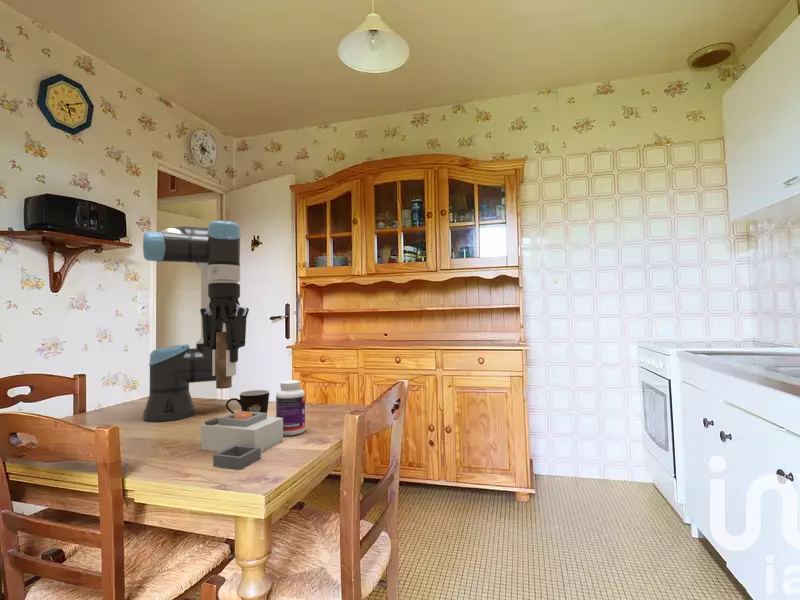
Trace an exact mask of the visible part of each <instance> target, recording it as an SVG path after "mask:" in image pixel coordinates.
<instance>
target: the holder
mask: <svg viewBox="0 0 800 600" xmlns="http://www.w3.org/2000/svg"><path fill="white" fill-rule="evenodd" d="M260 459H261V452H260V448H259V447H249V446H239V445H234V446H232V447H230V448H227V449H225V450H223V451H221V452H219V451H218V452H217V453H215V454H213V455H212V464H213V465H212V466H213V467H216V468H224V469H231V470H238V471H239V470H242V469H243V468H246V467H247V466H249V465H251V464H253V463H255V462H256V461H258V460H260Z"/></svg>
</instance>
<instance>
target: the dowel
mask: <svg viewBox="0 0 800 600" xmlns="http://www.w3.org/2000/svg"><path fill="white" fill-rule="evenodd" d="M227 348H229V346H228V339H227V332H216V381H215V385H216V386H215V388H216V389H219V390H222V389H223V390H224V389H230V388H232V385H233V384H232V381H233V380H232V379H233V376H226V350H227Z"/></svg>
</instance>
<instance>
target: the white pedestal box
mask: <svg viewBox="0 0 800 600" xmlns="http://www.w3.org/2000/svg"><path fill="white" fill-rule="evenodd" d="M239 412H247V411H242V410H238V411H236V412H235V413H233V414H232V413H230V414H227V415H226V416H221V417H215V418H212V419H209V420H205V421H204V424H201V425H200V450H201V449H202V450H201V451H211V452H219V451H223V450H225V449H227V448H230V447H232V446H234V445H239V446H249V447H259V448H260V453H262V452H263V450H264V451H266V450H268V449H270V448H272V447H273V446H275V445H277V444H279V443H281V442H283V441H284V435H283V418H278V417H275V416H268V412H267V413H261V412H252V417H250V418H247V419H237V418H234V414H236V413H239ZM271 446H272V447H271ZM269 447H270V448H269ZM267 448H268V449H267ZM265 449H266V450H265Z"/></svg>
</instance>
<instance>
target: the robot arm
mask: <svg viewBox="0 0 800 600" xmlns="http://www.w3.org/2000/svg"><path fill="white" fill-rule="evenodd" d="M240 229H241V228H240V225H239V224H238V223H236V222H234V221H229V220H228V221H227V220H212V221H211V222H209V223H208V227H199V226H198V227H197V226H184V225H183V226H176V227H169V228H165V229H162V230H161V231H147V232H145V233H144V234H143V240H142V252H143V253H142V254H143V258H144V260H145V261H149V262H150V261H151V262H156V263H157V262H158V263H163V262H166V263H167V262H168V263H195V266H196V267H197V268H198V269H200V295H201V296H200V306H201V307H200V310H199V311H200V339H199V340H198V341H196V344H195V345H196V346H195V348H190V345H189V344H178V345H171V346H165V347H161V348H157V349H154V350H152V351H151V352H150V354H149V363H148V366H149V395H148V397H147V398H148V399H147V402H146V404H145V407H144V408H145V409H144V410H143V413H142V419H144V421H145V420H146V421H145V422H169V421H175V420H180V419H181V420H182V419H186V418H189V417H191V416H194V415H195V413H196V410H195V409H196V407H195V405H194V403H193V399H192V396H191V392H190V383H191V384H193V383H205V382H216V332H227V339H228V346H229V348H227V350H226V376H232V377H233V376H236V375H237V363H238V361H239V349H240V348H242V347H245V346H246V337H247V335H246V334H247V332H246V331H247V318H248V314H249V311H250V310H249V307H243V306H241V304H240V302H239V301H240V300H239V298H240V297H241V284H239V282H240V281H241V263H240V262H241V261H240V257H241V256H240V254H241V231H240Z"/></svg>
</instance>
